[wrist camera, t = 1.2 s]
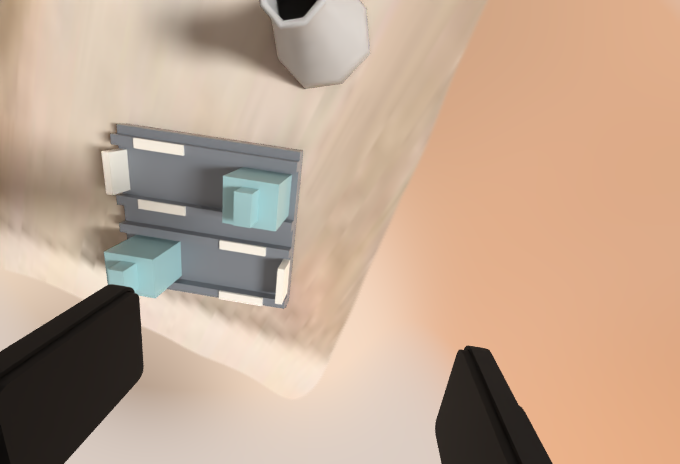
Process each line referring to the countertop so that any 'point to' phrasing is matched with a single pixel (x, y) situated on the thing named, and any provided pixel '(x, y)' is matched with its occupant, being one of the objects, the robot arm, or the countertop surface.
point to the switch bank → (204, 209)
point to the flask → (319, 38)
